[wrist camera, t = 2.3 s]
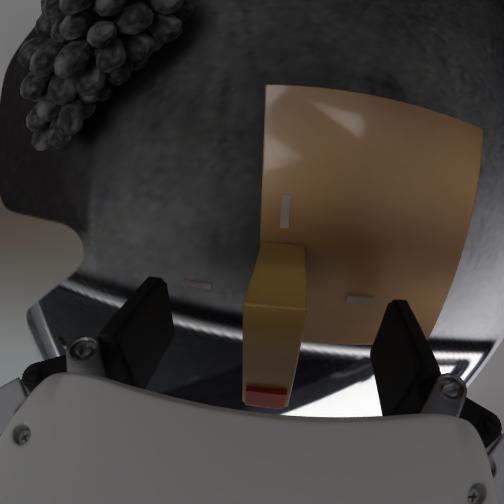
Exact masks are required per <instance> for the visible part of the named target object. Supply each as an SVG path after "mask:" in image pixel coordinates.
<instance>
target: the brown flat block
mask: <svg viewBox="0 0 504 504" xmlns="http://www.w3.org/2000/svg"><path fill="white" fill-rule="evenodd" d="M482 140H483V129H482V128H480V127H477V126H475V125H473V124H470V123H467V122H465V121H462V120H460V119H457V118H454V117H451V116H448V115H446V114H443V113H440V112H436V111H433V110H430V109H427V108H423V107H420V106H416V105H413V104H409V103H405V102H401V101H397V100H393V99H388V98H384V97H379V96H374V95H369V94H363V93H358V92H351V91H345V90H338V89H330V88H321V87H311V86H299V85H281V84H266V85H265V104H264V137H263V168H262V196H261V223H260V247H261V244H262V242H269V243H281V244H293V245H303V246H304V249H305V267H306V288H307V314H306V320H305V325H304V331H303V336H302V342H315V343H333V344H359V345H373V343H374V341H375V338H376V335H377V333H378V330H379V327H380V325H381V322H382V319H383V316H384V313H385V310H386V307H387V305H388V303H391V302H392V300H394V299H399V300H406V301H407V302H408V304H409V306H410V308H411V309H412V311H413V313H414V315H415V317H416V319H417V321H418V323H419V325H420V327H421V329H422V331H423V333H424V335H425V337H426V339H427V340H428V338H429V336H430V334H431V332H432V330H433V328H434V325H435V323H436V321H437V319H438V317H439V314H440V312H441V310H442V307H443V305H444V302H445V300H446V297H447V295H448V292H449V290H450V287H451V284H452V281H453V279H454V276H455V273H456V270H457V267H458V264H459V261H460V258H461V254H462V251H463V247H464V244H465V240H466V237H467V233H468V229H469V225H470V221H471V216H472V212H473V207H474V202H475V196H476V191H477V185H478V178H479V171H480V162H481V153H482ZM259 250H260V248H259ZM183 282H184V287H189V288H197V289H205V290H211V289H212V283H211V282H203V281H195V280H187V279H184V281H183Z"/></svg>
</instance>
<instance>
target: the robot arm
mask: <svg viewBox="0 0 504 504" xmlns="http://www.w3.org/2000/svg"><path fill="white" fill-rule="evenodd" d="M174 332H175V331H174V325H173V319H172V313H171V307H170V301H169V295H168V289H167V284H166V282H164V281H163V279H162V278H158V277H148V278H147V279H146V280H145V281H144V282H143V283H142V285H141V286H140V287H139V288H138V289H137V290H136V291H135V292H134V293H133V295H132V296H131V297H130V298H129V299H128V300H127V301H126V302H125V304H124V305H123V306H122V307H121V308H120V309H119V310H118V312H117V313H116V314H115V315H114V316H113V317H112V319H111V320H110V321H109V322H108V323H107V325H106V326H105V327H104V328H103V329H102V330H101V332H100V333H99V335H100V336H99V337H98V338H97V339H96V338H94V337H92V336H81V337H78V338H76V339H74V340H73V341H72V342H71V343H70V344H69V345H68V347H67V350H66V355H62V356H59V357H55V358H52V359H48V360H45V361H41V362H37V363H34V364H32V365H30V366H29V367H27V369H26V370H25V371H24V373H23V377H22V379H21V380H20V378H19V377H18V378H16V379H14V380H13V381H11V382H9V383H7V384H5V385H4V386H2V387H0V504H504V433H503V434H501V429H502V427H501V423H500V420H499V419H498V417H497V416H496V415H495V414H493V413H492V412H490V411H489V410H487V409H485V408H483V407H482V406H480V405H478V404H477V403H475V402H473V401H472V400H470V399H468V398H467V397H466V395H467V388H466V385H465V383H464V381H463V380H462V379H461V378H460V377H458V376H457V375H454V374H451V373H446V374H442V375H441V372H440V370H439V369H440V368H439V366H438V363H437V361H436V359H435V357H434V354H433V352H432V350H431V348H430V346H429V343H428V341H427V339H426V337H425V335H424V333H423V331H422V329H421V327H420V325H419V323H418V321H417V319H416V317H415V315H414V313H413V311H412V309H411V308H410V306H409V304H408V302H407V301H406V300H399V299H394V300H392V302H391V303H388V305H387V307H386V310H385V313H384V316H383V319H382V322H381V325H380V327H379V330H378V333H377V335H376V338H375V341H374V343H373V346H372V348H371V352H370V358H371V362H372V367H373V371H374V375H375V380H376V385H377V390H378V394H379V400H380V405H381V410H382V416H376V417H303V416H287V415H275V414H265V413H257V412H249V411H242V410H235V409H229V408H223V407H217V406H212V405H206V404H201V403H196V402H192V401H187V400H183V399H179V398H174V397H170V396H167V395H163V394H159V393H155V392H152V391H148V390H145V389H146V387H147V385H148V383H149V381H150V379H151V377H152V376H153V374H154V372H155V370H156V368H157V366H158V364H159V363H160V361H161V359H162V357H163V355H164V353H165V352H166V350H167V348H168V346H169V344H170V343H171V341H172V339H173V337H174Z"/></svg>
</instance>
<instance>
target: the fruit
mask: <svg viewBox="0 0 504 504" xmlns="http://www.w3.org/2000/svg"><path fill="white" fill-rule="evenodd" d="M193 9H194V8H193V6H192V4H191V1H190V0H41V10H42V14H41V16H40V17H39V19H38V20H37V22H36V27H35V31H36V33H37V34H38V36H39V37H38V38H32V39H30V40H28V41H26V42H25V43H24V44H23V46H22V47H21V49H20V51H19V53H18V62H19V63H20V64H21V65H22V66H23V67H29V66H30V72H29V74H28V75H27V76H26V77H25V79H24V80H23V81H22V83H21V88H20V94H21V95H22V96H23V98H24V99H27V100H31V101H33V102H38V103H36V105H35V106H34V107H33V108H32V109H31V110H30V111H29V113H28V115H27V118H26V121H27V127H28V128H29V129H30V130H31V131H32V132H34V133H33V136H32V141H31V143H32V145H33V146H34V148H35V149H36V150H38V151H45V150H46V149H47V148H49V147H50V146H53V147H54V148H59V149H60V148H62V147H65V146H67V145H68V144H69V143H70V141H71V140H72V136H73V135H74V134H75V133H77V132H79V130H80V129H81V128H82V126H83V120H84V119H87V118H88V117H90V116H91V115H92V114H93V113H94V111H95V108H96V103H95V102H96V101H105V100H107V99H109V98H111V96H112V94H113V92H114V89H115V87H114V85H121V84H122V83H124V82H126V81H127V80H128V78H129V77H130V76H131V72H132V70H135V71H136V70H138V69H140V68H143V67H144V66H145V65H146V64H147V63H148V60H149V56H151V54H152V53H153V52H155V51H157V50H160V48H161V47H162V46H163V44H164V43H168V42H171V41H174V40H175V39H176V38H178V37H179V36H180V34H181V33H182V32H183V31H182V21H185V20H186V19H187V18H188V17H190V15H191V13H192V11H193ZM49 37H51V38H52V39H51V38H49ZM93 48H94V51H93Z"/></svg>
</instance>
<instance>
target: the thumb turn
mask: <svg viewBox="0 0 504 504" xmlns="http://www.w3.org/2000/svg"><path fill="white" fill-rule="evenodd" d="M306 314H307V288H306V267H305V249H304V246H303V245H293V244H281V243H269V242H262V244H261V247H260V250H259V253H258V257H257V260H256V263H255V267H254V270H253V273H252V276H251V280H250V283H249V286H248V289H247V293H246V296H245V299H244V302H243V402H245V404H246V405H252V406H261V407H270V408H280V409H284V406H288V402H289V398H290V394H291V389H292V385H293V380H294V376H295V371H296V366H297V362H298V357H299V352H300V347H301V342H302V336H303V331H304V325H305V320H306Z"/></svg>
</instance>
